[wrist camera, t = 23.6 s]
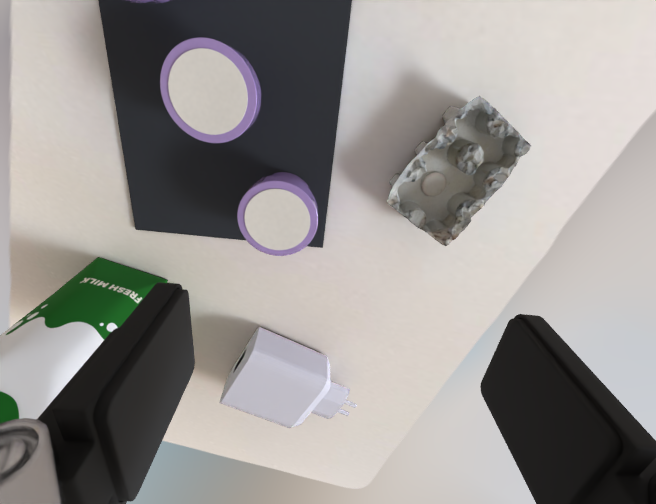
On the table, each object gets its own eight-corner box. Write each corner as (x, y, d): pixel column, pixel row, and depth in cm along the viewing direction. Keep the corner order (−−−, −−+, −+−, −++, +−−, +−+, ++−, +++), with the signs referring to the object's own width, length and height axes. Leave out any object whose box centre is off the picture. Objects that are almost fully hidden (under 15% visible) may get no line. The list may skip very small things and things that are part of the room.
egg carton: (430, 234, 33) (443, 253, 29) (374, 187, 31) (380, 202, 27) (520, 146, 29) (548, 156, 25) (463, 86, 27) (485, 87, 23)
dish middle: (183, 39, 25) (153, 30, 21) (269, 50, 25) (257, 44, 21) (189, 129, 28) (164, 138, 23) (266, 138, 28) (255, 148, 24)
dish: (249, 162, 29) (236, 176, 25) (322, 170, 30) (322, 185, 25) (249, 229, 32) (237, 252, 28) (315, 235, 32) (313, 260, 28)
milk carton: (178, 275, 35) (23, 481, 17) (162, 337, 38) (21, 559, 21) (89, 245, 33) (-186, 438, 15) (81, 313, 37) (-147, 532, 19)
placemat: (74, -161, 20) (71, -164, 20) (365, -114, 21) (365, -116, 21) (137, 228, 32) (135, 229, 32) (322, 246, 33) (322, 247, 33)
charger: (332, 414, 45) (228, 373, 41) (370, 370, 41) (260, 322, 38) (333, 448, 41) (217, 407, 37) (376, 404, 37) (252, 353, 33)
